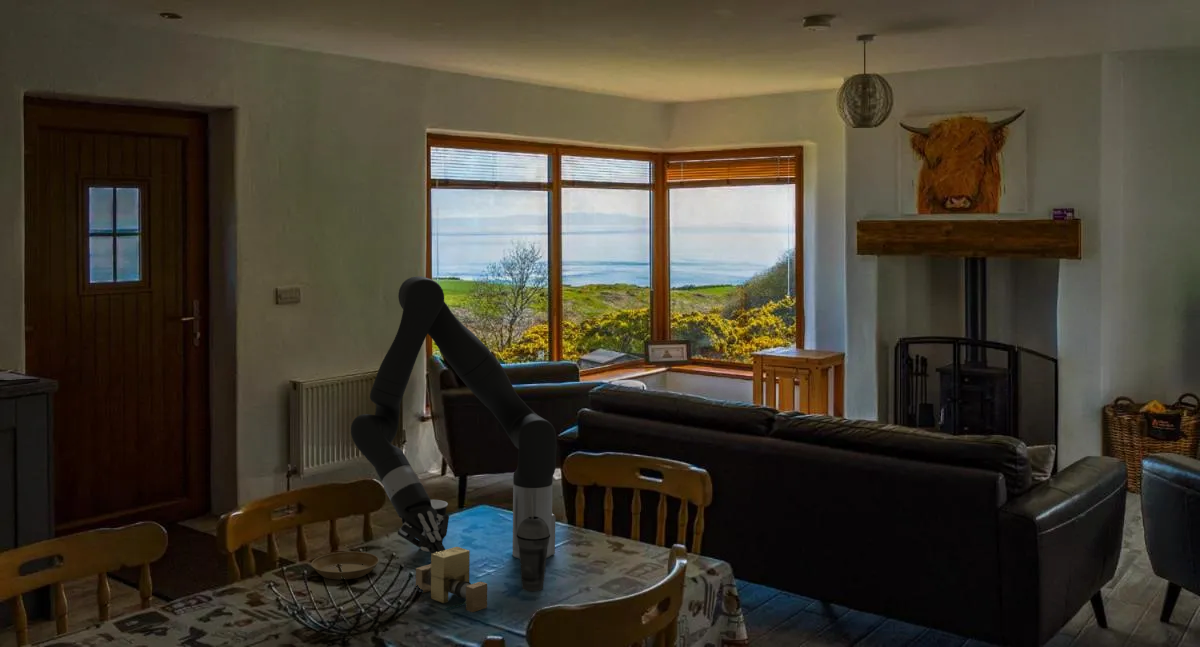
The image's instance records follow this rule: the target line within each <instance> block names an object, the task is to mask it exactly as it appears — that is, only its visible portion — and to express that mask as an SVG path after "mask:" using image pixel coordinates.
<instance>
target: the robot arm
mask: <svg viewBox="0 0 1200 647" xmlns="http://www.w3.org/2000/svg"><path fill="white" fill-rule="evenodd" d="M398 289H399V290H398V302H399V305H400V307H401V309H402V315H401V319H400V323H399V326H398V330H397V332H396V334H395V337H394V339H393V341H392V343H391V345H390V347H389V349H388V350H387V352H386V354H385V356H384V358H383V359H382V362H381V364H380V366H379V369H378V371H377V374H376V376H375V379H374V381H373V384H372V386H371V391H370V394H369V400H370V401H371V402H372V403H373V404H375V412H374V414H371V413H370V414H369V413H365V414H363V413H362V414H359V415H357V416H356V417H355V418H354V419H353V421H352V422H351V425H350V435H351V438H352V441H353V443H354V444H355V447H356V448H357V449H358V451H360V452H361V454H362V455H363V456H364V458H365V459H366V460H367V461H368V462H369V463H370V464H371V465H372V466H373V467H374V469H375V471H376V473H377V475H378V477H379V479H380V481H381V483H382V485H383V488H384V491H385V493H386V495H387V497H388V498H389V501H390V502H391V504H392V506H393V508H394V510H395V512H396V514H397V516H398V518H400V519H401V523H402V526H401V527H400V529H398V531H397V535H398V536H400V537H401V538H403V539H405V540H406V541H408V542H409V543H411V544H413V545H415V547H417V548H420V549H421V547H422V546H423V547H426V548H428V550H429V551H430V552H429V554H430V555H431V554H432V553H436V552H439V551H443V550H446V548H445V546H444V544H443V542H441V541H442V540H444V539H445V538H446V537H447V534H448V526H449V521H450V520H449V519H450V515H448V514H447V513H446V514H445V515H444V516H442V515H439V514H437V511H436V510H435V509H434V508H433V507H432V506H431V500H432V499H431V498H430V496H429V494H428V493H427V491H426V489H425V487H424V485H423V483H422V481H421V480H420V478H419V475H417V473H416V472H415V470H414V469H413V467H412V465H411V464H410V462H409V460H408V458H407V455H405V453H404V451H402V449H401V448H400V447H398V446H396V445H393V444H392V442H393V441H394V439H395V437H396V436H397V433H398V428H399V422H400V414H401V413H400V412H401V402H402V400H403V397H404V394H405V391H406V388H407V386H408V383H409V380H410V379H411V374H412V372H413V369H414V367H415V364H416V361H417V358H418V356H419V353H420V351H421V349H422V346H423V344H424V342H425V340H426V338H427V335H429V337H430V338H431V340H432V341H433V342H434V343H435V346H436V347H437V349H439V351H440V353H441V354H442V356H443V357H444V359H445V361H447V363H448V364H449V366H451V368H452V370H453V371H454V372H455V374H456V375H457V376H458V377H459V378H460V380H461V381H462V382H463V384H465V386H466V387H467V388H468V389H469V390H470V391H471V393H472V394H473V395H474V396H475V397H476V398H477V399H478V400H479V401H480V402H481V403H482V404H483V406H485V407H486V408H487V409H488V410H489V411H490V412H491V413H492V414H493V416H494V417H495V418H496V419H497V421H498V423H500V425H501V427H502V428H503V430H504V432H505V433H506V435H507V436H508V438H509V439H510V441H511V443H512V444H513V445H514V447H515V448H516V449H518V452H517V453H518V454H517V468H516V470H514V472H513V474H512V475H513V481H512V484H513V485H512V486H513V487H512V488H513V489H512V493H513V494H512V496H513V497H512V556H513V557H514V558H516V559H519V560H520V553H519V545H518V540H517V532H518V528H519V525H520V524H521V522H522V521H523V520H524V519H526V518H528V517H531V496H533V515H534V516H536V517H539V518H541V519H543V520H544V521H545V522H546V523H547V525H548V527H549V532H550V537H549V544H548V547H547V557H546V559H548V558H549V557H551V556H553V555H555V554H556V515H555V514H553V481H554V475H555V473H556V466H557V465H556V464H557V443H558V442H557V441H558V440H557V433H556V429H555V427H554V426H553V424H552V423H551V422H550V421H549V420H547V419H545V418H543V417H541V416H540V415H538V414H537V413H536V412H535V411H534V410H533V409H532V408H530V407H529V406H528V404H526V402H525V401H524V400H523V399H522V398H521V397H520V396H519V395H518V393H517V392H516V390H515V388H514V386H513V385H512V383H511V380H510V377H509V376H508V374H507V372H506V371H505V369H504V367H503V365H501V362H499V360H498V359H497V358H496V357H495V355H494V354H493V353H492V351H491V350H490V349H489V348H488V347H487V346H486V344H484V342H482V341H481V339H480V338H479V337H477V336H476V335H475V333H473V332H472V331H471V330H470V329H469V328H468V327H466V326H465V325H464V324H463V323H462V322H461V321H460V320H459V319H458V318H457V317H456V316H455V315H454V313H453V311H452V310H451V309H450V308H449V306H448V305H447V303H446V302H445V293H444V290H443V288H442V286H441V285H440V284H439V283H438V281H437V282H436V281H435V280H433V279H431V278H429V277H425V276H418V275H417V276H412V277H409V278H407V279H405V280H404V281H403V282H402V284H401V285H400V287H399V288H398ZM436 521H437V524H436Z"/></svg>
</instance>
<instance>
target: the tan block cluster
mask: <svg viewBox="0 0 1200 647" xmlns="http://www.w3.org/2000/svg"><path fill="white" fill-rule="evenodd" d="M417 585H418V586H419V588H420V589H422V590H423V593H422V594H424V593H428V592H431V563H430V564H425V565H422V566H419V567H416V568H415V587H416V586H417ZM448 594H453V595H455V596H456V597H458V598H460V599H463V600H464V601H463V602H460V603H457V604H453V605H450V606H447V607H445V610H447V611H449V610H452V609H454V608H458V607H461V606H464V605H465V611H466V612H467V611H468V612H470V613H475V612H478V611H480V610H485V609H487V608H488V583H486V582H483V581H478V582H475V583H472V584H471V582H470V581H469V582H467V581H464V580H462V581H460V580H457V579H454V578H451V579H449V587H448Z"/></svg>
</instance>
